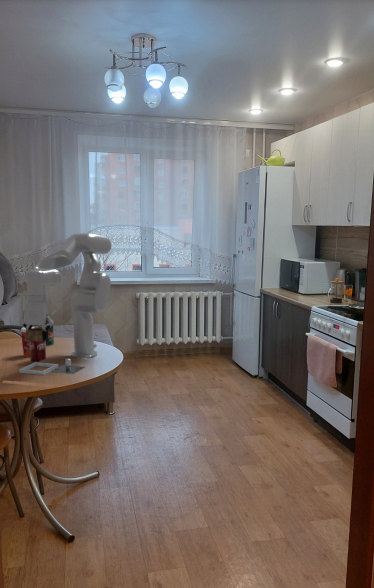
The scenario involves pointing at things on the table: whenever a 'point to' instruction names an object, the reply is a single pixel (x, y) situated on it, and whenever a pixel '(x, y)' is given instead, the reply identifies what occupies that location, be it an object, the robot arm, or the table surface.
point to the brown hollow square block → (35, 334)
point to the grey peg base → (68, 368)
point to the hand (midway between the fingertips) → (37, 339)
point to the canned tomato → (51, 337)
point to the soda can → (37, 351)
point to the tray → (25, 370)
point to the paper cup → (25, 343)
